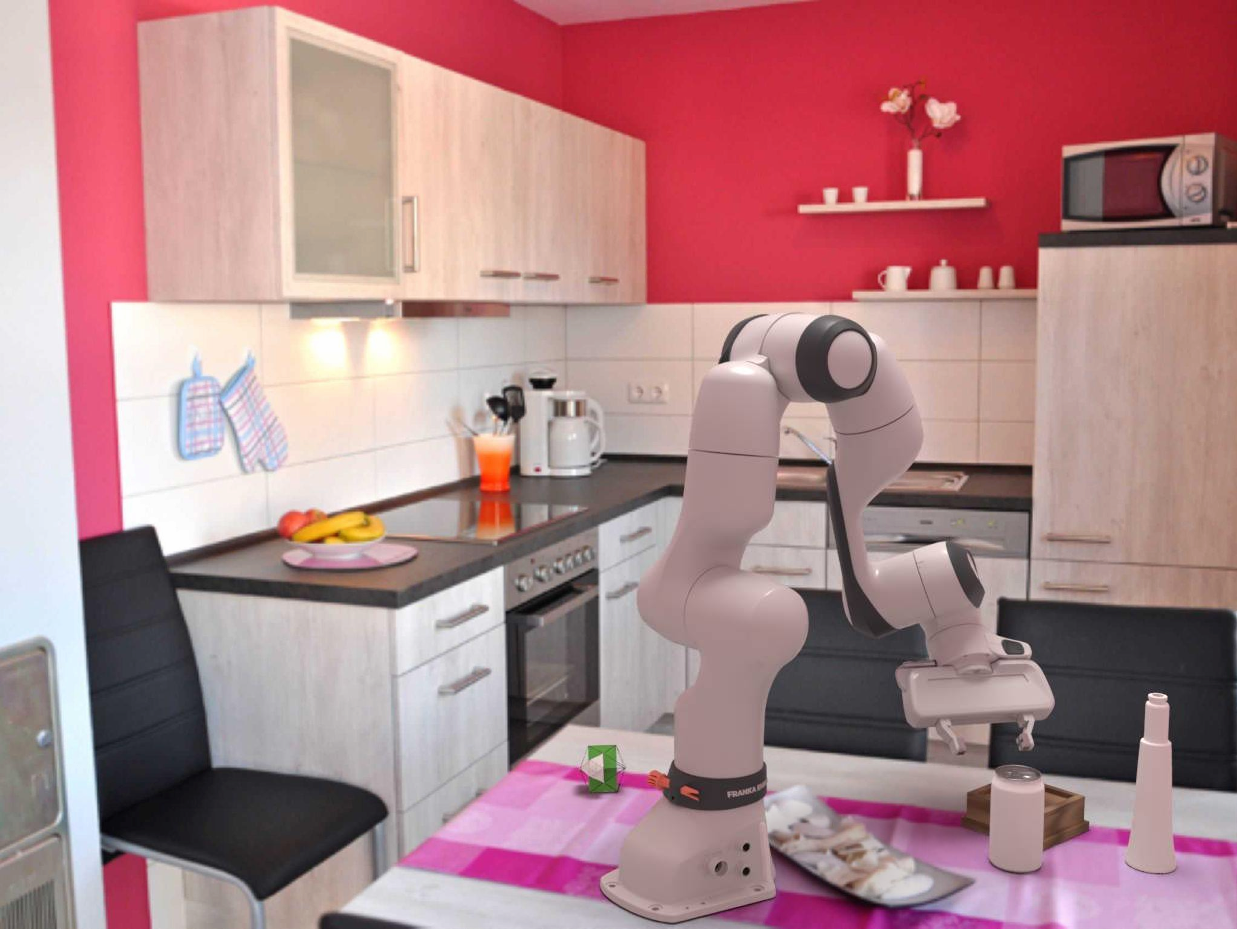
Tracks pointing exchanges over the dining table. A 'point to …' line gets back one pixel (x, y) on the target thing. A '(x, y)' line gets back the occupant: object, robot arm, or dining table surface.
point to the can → (1016, 819)
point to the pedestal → (1058, 814)
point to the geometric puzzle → (602, 768)
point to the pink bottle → (1153, 795)
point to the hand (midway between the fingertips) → (993, 751)
